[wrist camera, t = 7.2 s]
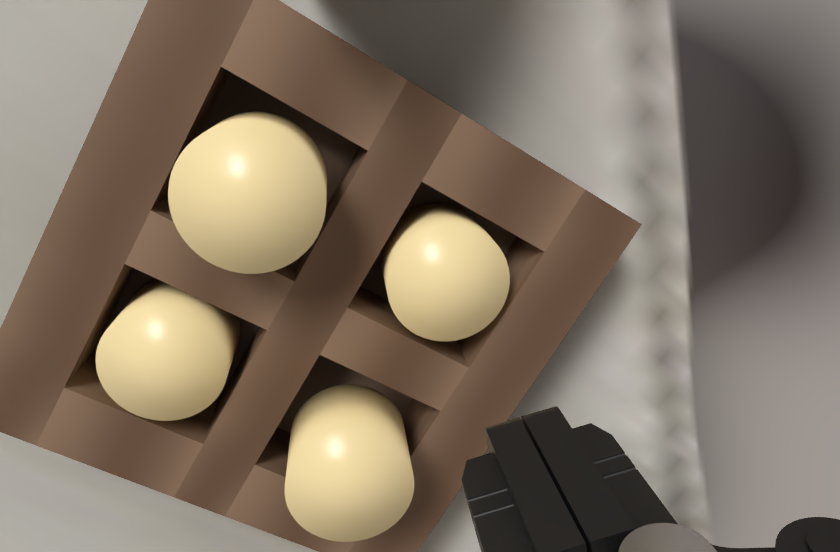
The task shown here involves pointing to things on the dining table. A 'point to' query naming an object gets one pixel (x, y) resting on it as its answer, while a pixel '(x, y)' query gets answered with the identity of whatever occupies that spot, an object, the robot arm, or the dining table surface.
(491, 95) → the dining table surface
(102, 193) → the button board
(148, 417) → the button
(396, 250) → the button
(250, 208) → the button
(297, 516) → the button
